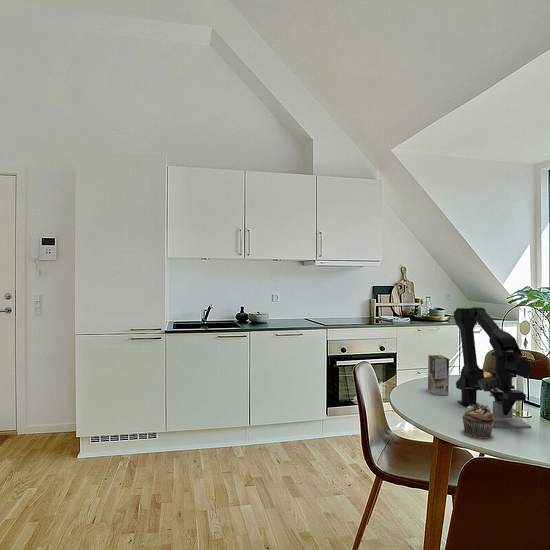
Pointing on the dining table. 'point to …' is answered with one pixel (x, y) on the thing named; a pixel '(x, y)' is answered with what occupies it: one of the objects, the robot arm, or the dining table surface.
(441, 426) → the dining table surface
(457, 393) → the dining table surface
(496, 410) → the plug
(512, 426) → the coaster
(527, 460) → the dining table surface
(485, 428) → the cupcake
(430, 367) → the coffee box
